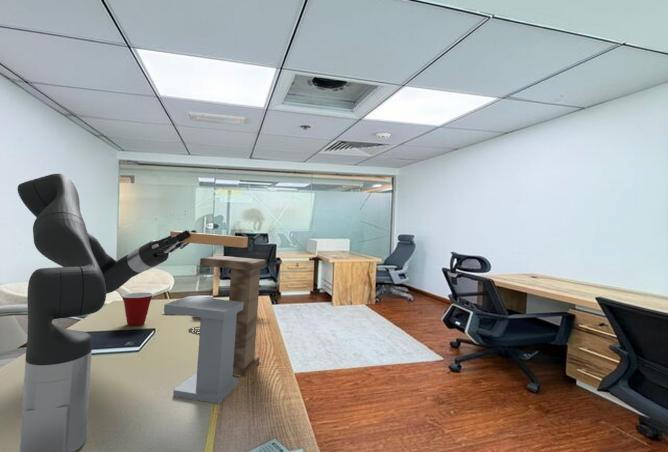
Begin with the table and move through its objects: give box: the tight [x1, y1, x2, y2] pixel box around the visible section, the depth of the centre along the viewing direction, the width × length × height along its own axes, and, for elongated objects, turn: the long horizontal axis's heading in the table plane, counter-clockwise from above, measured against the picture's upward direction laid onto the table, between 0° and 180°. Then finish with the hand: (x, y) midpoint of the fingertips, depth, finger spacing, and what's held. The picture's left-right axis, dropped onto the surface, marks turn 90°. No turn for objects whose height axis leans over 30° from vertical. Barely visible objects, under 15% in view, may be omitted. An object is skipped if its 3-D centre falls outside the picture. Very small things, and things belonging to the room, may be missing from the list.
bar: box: [169, 230, 249, 249], centre depth 96 cm, size 24×3×3 cm, turn 80°
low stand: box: [163, 295, 244, 405], centre depth 81 cm, size 16×10×22 cm, turn 80°
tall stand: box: [199, 255, 267, 377], centre depth 95 cm, size 16×10×32 cm, turn 80°
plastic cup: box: [121, 292, 154, 327], centre depth 125 cm, size 11×11×12 cm
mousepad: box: [188, 327, 200, 335], centre depth 122 cm, size 9×8×1 cm
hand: (192, 233), depth 97 cm, fingers closed on bar, 3 cm apart
